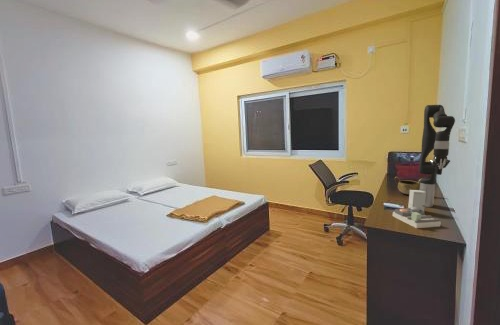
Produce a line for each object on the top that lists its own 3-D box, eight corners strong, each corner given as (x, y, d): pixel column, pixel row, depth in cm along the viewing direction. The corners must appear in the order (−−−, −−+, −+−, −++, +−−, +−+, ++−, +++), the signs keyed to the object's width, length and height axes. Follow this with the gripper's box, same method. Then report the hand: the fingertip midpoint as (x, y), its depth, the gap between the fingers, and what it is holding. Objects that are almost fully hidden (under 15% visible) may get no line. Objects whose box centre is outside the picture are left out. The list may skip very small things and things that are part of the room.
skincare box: (411, 212, 170) (413, 191, 168) (407, 209, 176) (409, 189, 173) (424, 212, 169) (426, 192, 166) (419, 209, 174) (421, 189, 172)
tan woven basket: (422, 193, 215) (424, 177, 213) (424, 198, 201) (425, 180, 199) (393, 190, 227) (394, 174, 225) (393, 194, 213) (394, 178, 210)
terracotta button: (397, 212, 161) (397, 209, 160) (404, 212, 161) (404, 208, 161) (403, 215, 156) (403, 211, 155) (410, 214, 156) (410, 211, 156)
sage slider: (411, 219, 149) (411, 212, 149) (415, 218, 150) (416, 212, 149) (416, 221, 145) (416, 214, 145) (420, 221, 146) (421, 214, 145)
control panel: (392, 216, 163) (393, 208, 162) (413, 214, 165) (414, 207, 165) (416, 228, 144) (417, 219, 143) (440, 226, 146) (441, 217, 145)
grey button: (408, 210, 161) (408, 206, 161) (415, 209, 162) (415, 206, 162) (414, 212, 156) (414, 209, 156) (421, 212, 157) (422, 208, 157)
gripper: (445, 147, 158) (442, 172, 161) (427, 147, 157) (424, 173, 159) (456, 148, 151) (453, 175, 154) (437, 148, 149) (434, 176, 152)
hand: (438, 174), depth 156 cm, fingers closed
